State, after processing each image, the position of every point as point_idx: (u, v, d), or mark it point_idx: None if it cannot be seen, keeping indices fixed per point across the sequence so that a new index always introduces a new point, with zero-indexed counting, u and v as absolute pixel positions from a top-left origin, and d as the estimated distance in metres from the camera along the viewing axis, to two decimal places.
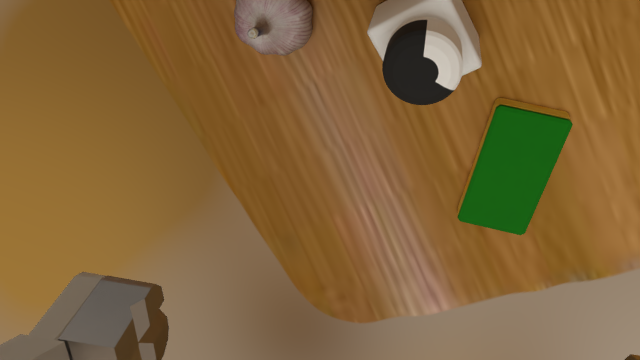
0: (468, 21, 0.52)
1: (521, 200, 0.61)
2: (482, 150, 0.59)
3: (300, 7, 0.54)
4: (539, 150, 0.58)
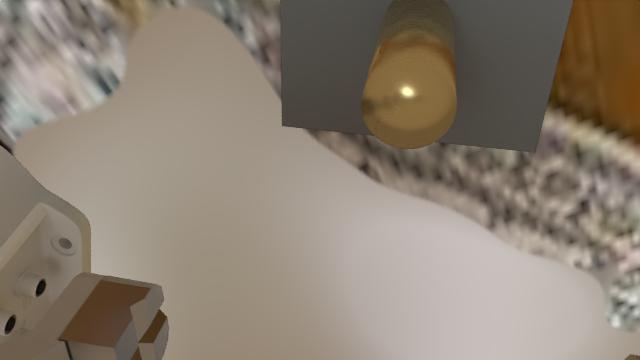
0: None
1: None
2: None
3: None
4: None
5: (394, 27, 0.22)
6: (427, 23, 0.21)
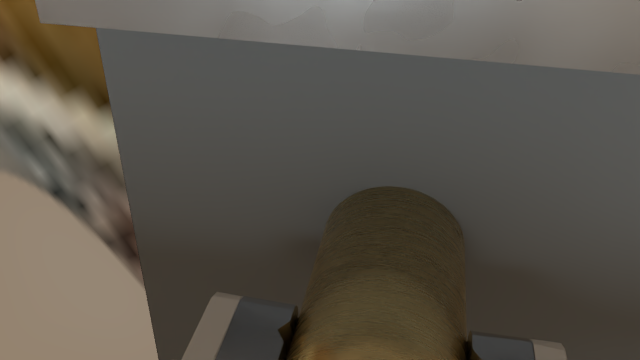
0: None
1: None
2: None
3: None
4: None
5: (320, 347, 0.09)
6: (400, 345, 0.09)
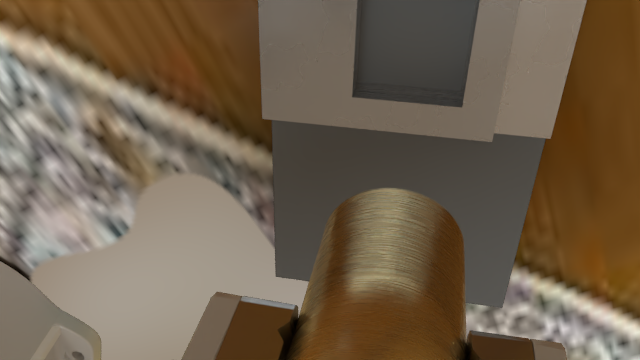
0: None
1: None
2: None
3: None
4: None
5: (320, 349, 0.09)
6: (400, 348, 0.09)
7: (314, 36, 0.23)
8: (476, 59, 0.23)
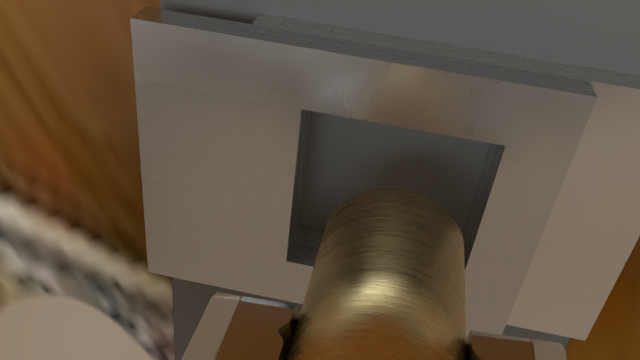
0: None
1: None
2: None
3: None
4: None
5: (320, 349, 0.09)
6: (400, 348, 0.09)
7: (229, 172, 0.14)
8: (487, 234, 0.14)
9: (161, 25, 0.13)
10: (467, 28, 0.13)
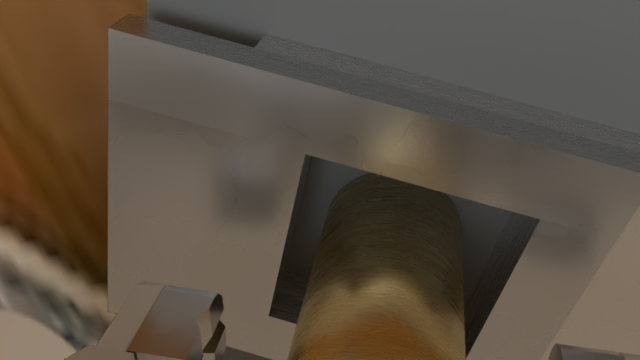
0: None
1: None
2: None
3: None
4: None
5: (326, 318, 0.10)
6: (403, 315, 0.09)
7: (211, 214, 0.12)
8: (504, 312, 0.12)
9: (145, 40, 0.10)
10: (507, 76, 0.11)
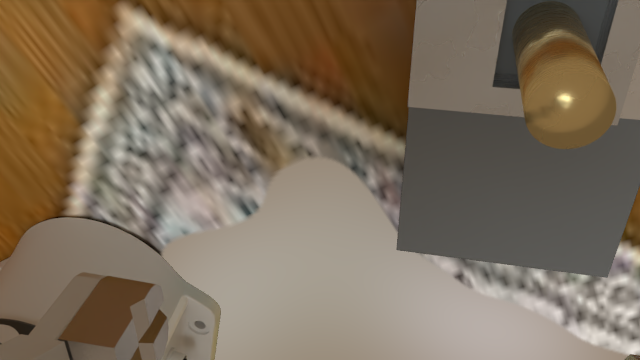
0: None
1: None
2: None
3: None
4: None
5: (535, 41, 0.24)
6: (566, 32, 0.23)
7: (464, 34, 0.27)
8: (610, 52, 0.26)
9: None
10: None
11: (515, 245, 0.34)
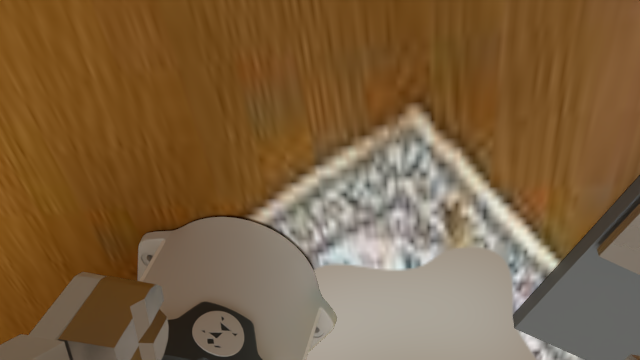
0: None
1: None
2: None
3: None
4: None
5: None
6: None
7: None
8: None
9: None
10: None
11: (597, 349, 0.49)
